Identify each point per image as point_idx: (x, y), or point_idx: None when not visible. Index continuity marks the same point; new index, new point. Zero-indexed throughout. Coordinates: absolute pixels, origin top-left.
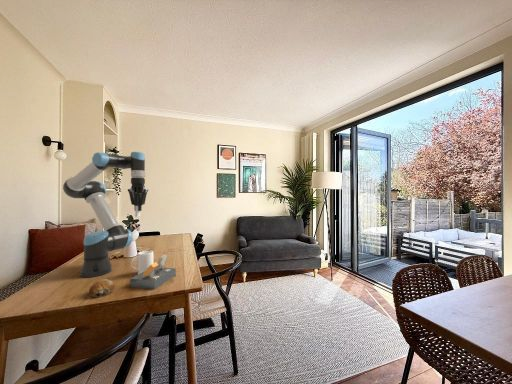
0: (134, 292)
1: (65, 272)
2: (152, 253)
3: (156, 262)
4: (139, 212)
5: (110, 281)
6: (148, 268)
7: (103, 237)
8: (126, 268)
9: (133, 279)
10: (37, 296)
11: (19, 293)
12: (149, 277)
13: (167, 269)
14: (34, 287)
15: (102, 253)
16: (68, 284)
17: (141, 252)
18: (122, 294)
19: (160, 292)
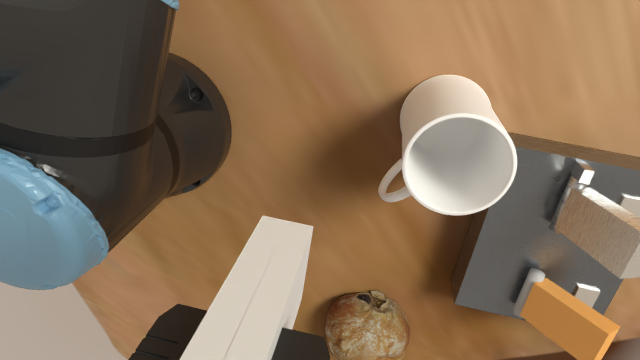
0: (498, 327)
1: None
2: (515, 167)
3: (611, 333)
4: (291, 311)
5: (394, 347)
6: (565, 346)
7: (95, 244)
8: (279, 48)
9: (473, 307)
10: None
11: (90, 308)
12: None
13: (626, 205)
14: None
15: (161, 191)
16: (173, 251)
17: (411, 145)
18: (457, 338)
19: None
